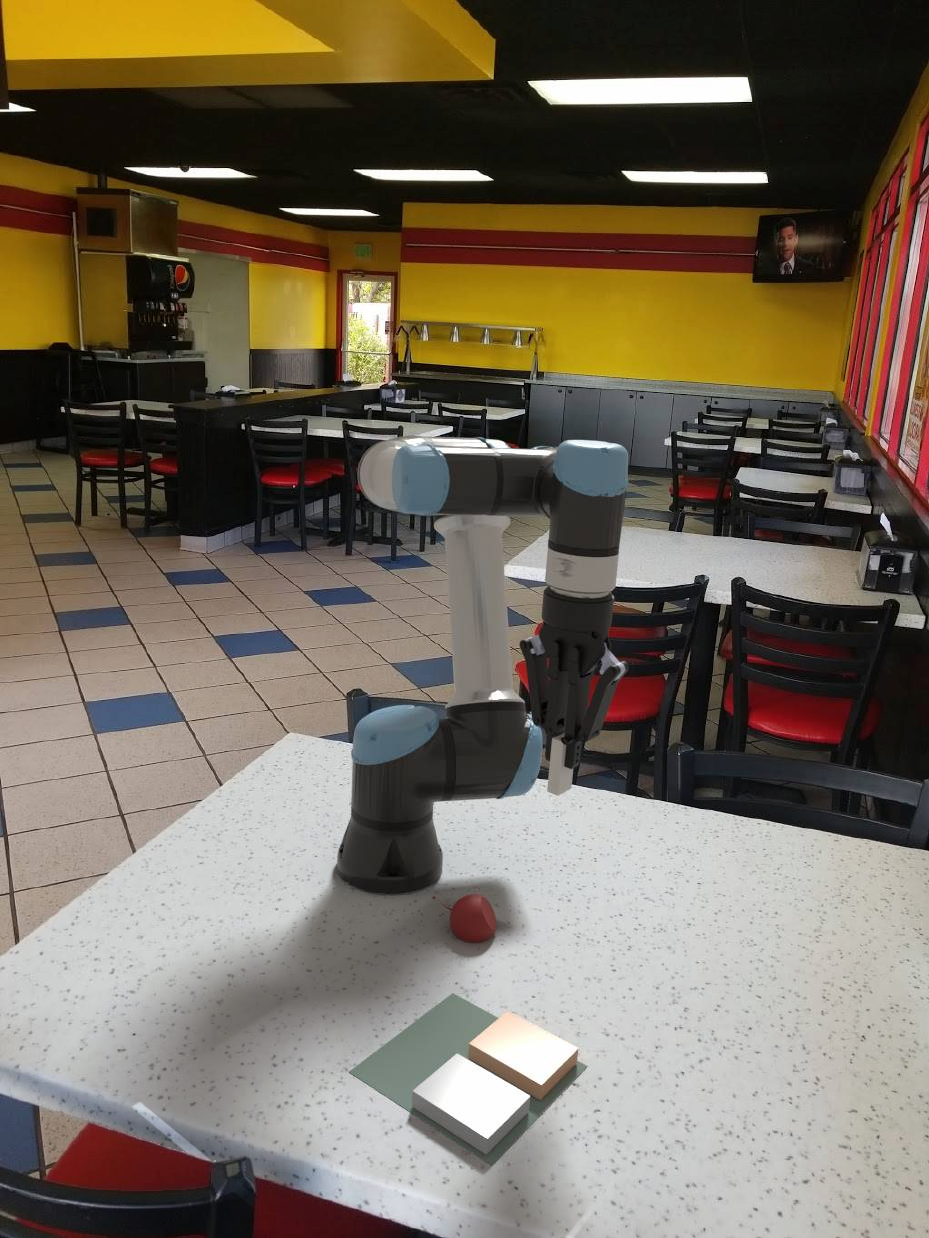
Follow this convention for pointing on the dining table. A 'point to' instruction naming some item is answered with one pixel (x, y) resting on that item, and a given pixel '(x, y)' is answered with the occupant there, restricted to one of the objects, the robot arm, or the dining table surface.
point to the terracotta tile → (523, 1054)
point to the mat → (430, 1049)
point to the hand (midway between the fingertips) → (559, 789)
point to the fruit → (472, 918)
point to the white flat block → (471, 1102)
